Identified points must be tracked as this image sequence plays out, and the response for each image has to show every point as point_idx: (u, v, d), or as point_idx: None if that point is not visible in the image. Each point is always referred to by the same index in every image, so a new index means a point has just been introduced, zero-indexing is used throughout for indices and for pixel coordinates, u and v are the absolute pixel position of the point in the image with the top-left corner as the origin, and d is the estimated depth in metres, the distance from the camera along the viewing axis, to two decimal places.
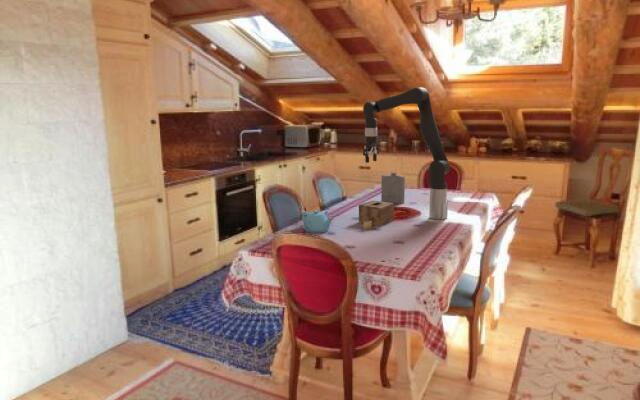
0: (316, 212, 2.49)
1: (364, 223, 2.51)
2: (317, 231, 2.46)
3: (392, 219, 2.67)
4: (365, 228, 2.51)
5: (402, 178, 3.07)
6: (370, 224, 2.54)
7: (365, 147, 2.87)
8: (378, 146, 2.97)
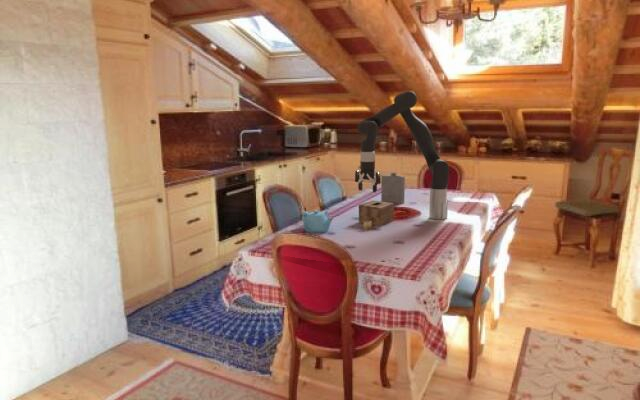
0: (316, 212, 2.49)
1: (364, 223, 2.51)
2: (317, 231, 2.46)
3: (392, 219, 2.67)
4: (365, 228, 2.51)
5: (402, 178, 3.07)
6: (370, 224, 2.54)
7: (379, 174, 2.44)
8: None
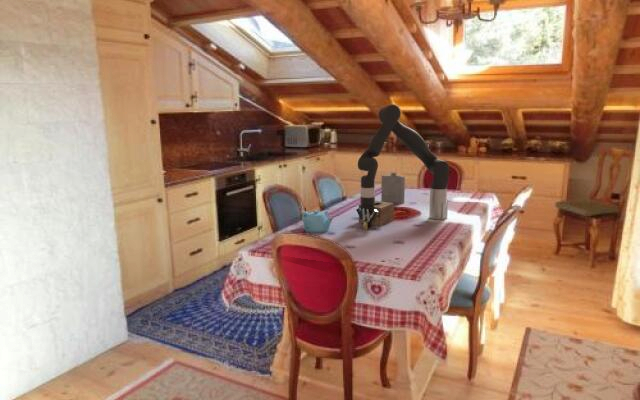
0: (316, 212, 2.49)
1: (364, 223, 2.51)
2: (317, 231, 2.46)
3: (392, 219, 2.67)
4: (365, 228, 2.51)
5: (402, 178, 3.07)
6: None
7: (377, 213, 2.48)
8: None
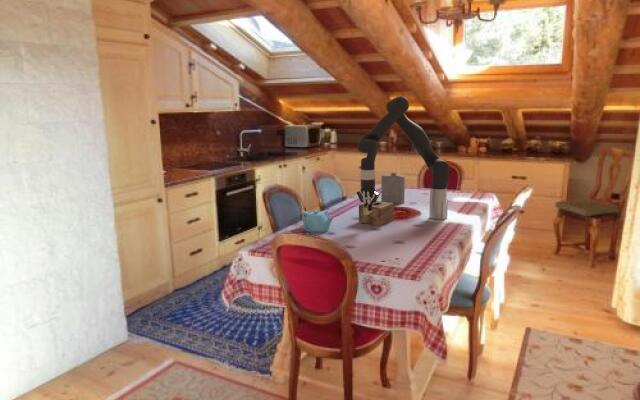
0: (316, 212, 2.49)
1: (364, 209, 2.49)
2: (317, 231, 2.46)
3: (392, 219, 2.67)
4: (365, 213, 2.49)
5: (402, 178, 3.07)
6: None
7: (378, 195, 2.46)
8: None
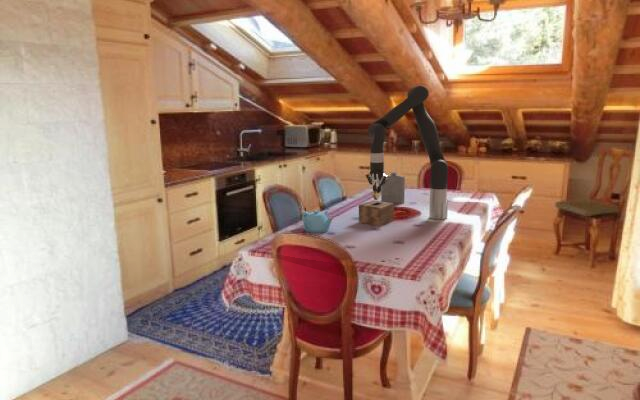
0: (316, 212, 2.49)
1: (373, 195, 2.61)
2: (317, 231, 2.46)
3: (392, 219, 2.67)
4: (375, 198, 2.63)
5: (402, 178, 3.07)
6: None
7: (387, 177, 2.58)
8: None
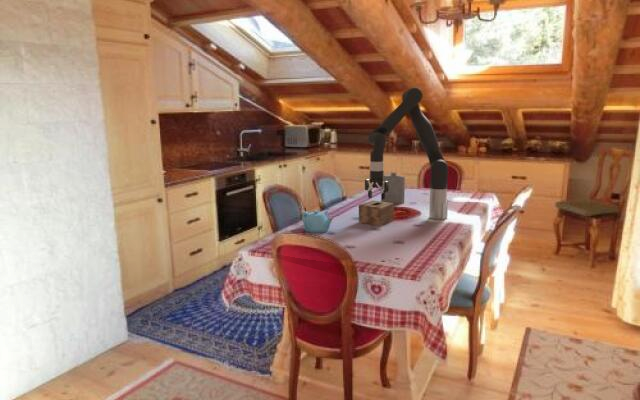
0: (316, 212, 2.49)
1: None
2: (317, 231, 2.46)
3: (392, 219, 2.67)
4: None
5: (402, 178, 3.07)
6: None
7: (387, 183, 2.59)
8: None
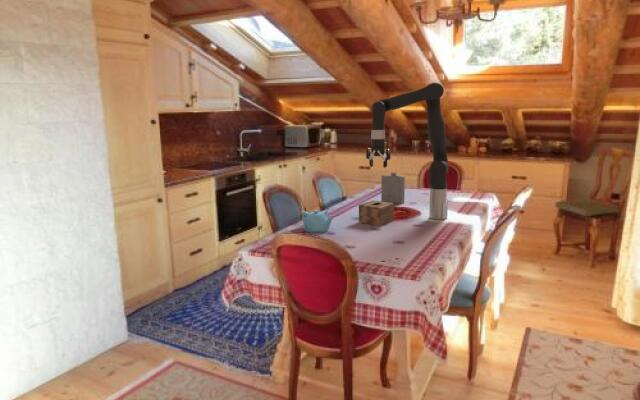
0: (316, 212, 2.49)
1: None
2: (317, 231, 2.46)
3: (392, 219, 2.67)
4: None
5: (402, 178, 3.07)
6: None
7: (389, 150, 2.63)
8: None
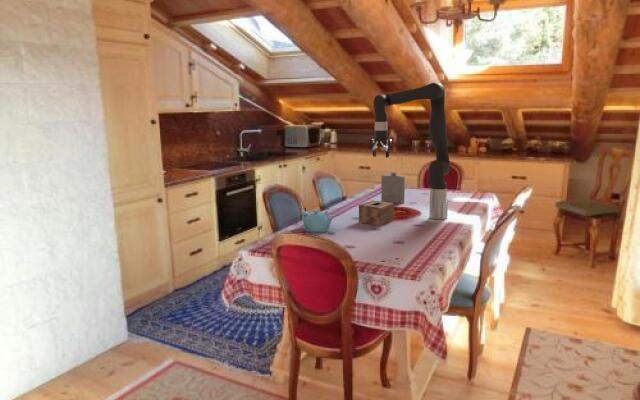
0: (316, 212, 2.49)
1: None
2: (317, 231, 2.46)
3: (392, 219, 2.67)
4: None
5: (402, 178, 3.07)
6: None
7: (391, 141, 2.78)
8: None
